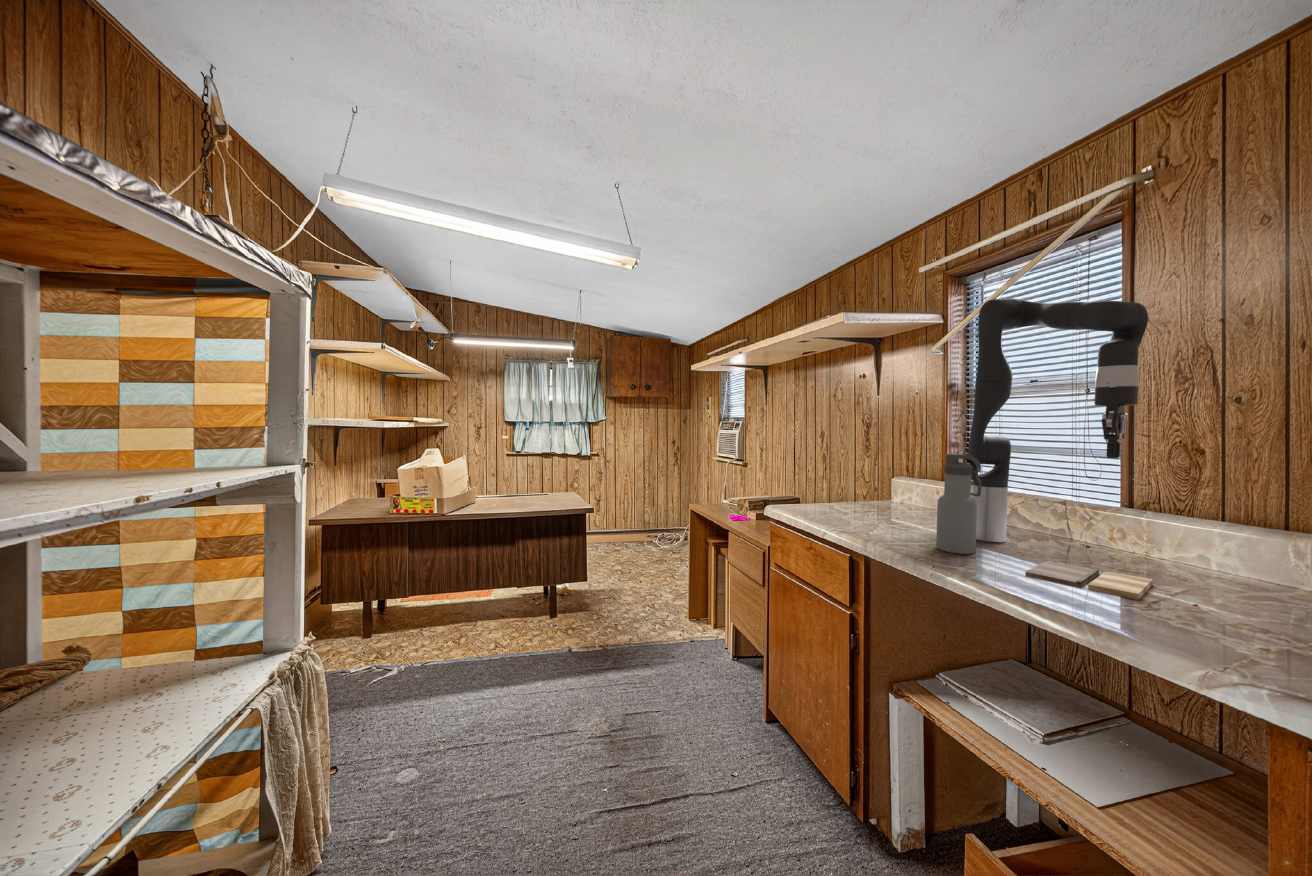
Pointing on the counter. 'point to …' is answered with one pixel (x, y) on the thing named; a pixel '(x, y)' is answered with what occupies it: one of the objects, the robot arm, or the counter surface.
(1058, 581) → the walnut board
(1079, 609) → the counter surface
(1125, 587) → the oak plank
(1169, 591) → the counter surface
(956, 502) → the water bottle
